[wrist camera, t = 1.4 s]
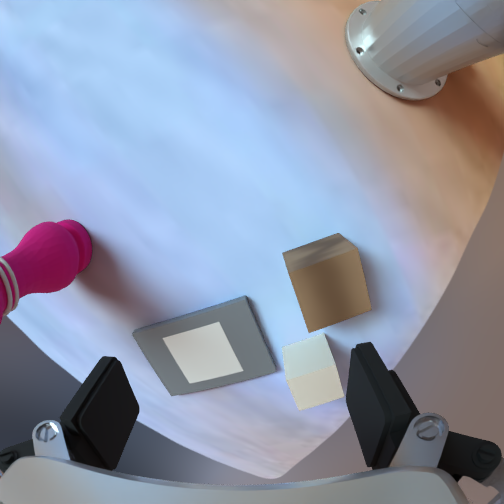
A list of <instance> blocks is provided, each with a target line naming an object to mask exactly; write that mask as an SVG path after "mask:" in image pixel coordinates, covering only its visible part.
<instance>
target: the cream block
mask: <svg viewBox="0 0 504 504" xmlns="http://www.w3.org/2000/svg"><path fill="white" fill-rule="evenodd" d="M282 353H283V360H284V368H285V376H286V381H287V384H288V386H289V388H290V391H291V393H292V395H293V398H294V400H295V402H296V404H297V407H298V409H299V411H301V410H304V409H308V408H311V407H315V406H318V405H321V404H324V403H327V402H330V401H333V400H336V399H339V398H342V397H344V393H343V390H342V386H341V382H340V379H339V375H338V371H337V368H336V364H335V361H334V359H333V356H332V353H331V351H330V348H329V345H328V343H327V340H326V338H325V335H324V333H322V334H319V335H316V336H313V337H310V338H308V339H305V340H302V341H299V342H296V343H292V344H289V345H286V346H283V347H282Z"/></svg>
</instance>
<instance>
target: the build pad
mask: <svg viewBox="0 0 504 504" xmlns="http://www.w3.org/2000/svg"><path fill="white" fill-rule="evenodd" d="M132 335H133V337H134V339H135V340H136V342H137V344H138V345H139V347H140V349H141V350H142V352H143V354H144V355H145V357H146V358H147V360H148V362H149V363H150V365H151V366H152V368H153V369H154V371H155V372H156V374H157V376H158V377H159V379H160V380H161V382H162V383H163V385H164V386H165V387H166V389H167V390H168V392H169V393H170V395H171V396H175V395H181V394H186V393H192V392H197V391H202V390H206V389H211V388H215V387H220V386H224V385H229V384H233V383H237V382H241V381H245V380H249V379H252V378H256V377H260V376H264V375H267V374H271V373H274V372H276V365H275V363H274V361H273V359H272V356H271V354H270V352H269V349H268V347H267V345H266V342H265V340H264V338H263V335H262V333H261V331H260V328H259V326H258V324H257V321H256V319H255V317H254V314H253V312H252V309H251V307H250V305H249V302H248V300H247V298H246V295H245V296H242V297H239V298H236V299H233V300H230V301H227V302H224V303H221V304H218V305H215V306H212V307H208V308H205V309H202V310H199V311H196V312H193V313H189V314H186V315H183V316H180V317H176V318H173V319H170V320H166V321H163V322H160V323H156V324H153V325H150V326H146V327H143V328H139V329H136V330H134V332H133V333H132Z"/></svg>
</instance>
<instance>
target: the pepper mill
mask: <svg viewBox="0 0 504 504" xmlns="http://www.w3.org/2000/svg"><path fill="white" fill-rule="evenodd" d="M91 256H92V244H91V240H90V237H89V235H88V233H87V231H86V230H85V228H84V227H83V226H82V225H81V224H79V223H78V222H76V221H74V220H63V221H60V222H57V223H54V222H43V223H41V224H39V225H36V226H35V227H33V228H32V229H31V230H30V231H28V232H27V233H26V234H25V236H24V237H23V239H22V240H21V242H20V243H19V245H18V246H17V247H16V248H15V249H14V250H13V251H11V252H10V253H8V254H6V255H4V256H2V257H0V324H1V320H2V317H3V316H6V315H8V314H9V313H10V311H13V310H14V309H15V308H16V307H17V305H18V302H19V299H20V298H21V297H23V296H25V295H27V294H31V293H51V292H55V291H59V290H61V289H63V288H65V287H67V286H68V285H69V284H71V282H72V281H73V280H74V278H75V276H76V274H78V273H79V272H81V271H82V270H84V269H85V268H86V267H87V266H88V264H89V263H90V260H91Z"/></svg>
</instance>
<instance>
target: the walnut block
mask: <svg viewBox="0 0 504 504" xmlns="http://www.w3.org/2000/svg"><path fill="white" fill-rule="evenodd" d="M282 254H283V257H284V260H285V264H286V267H287V270H288V273H289V276H290V279H291V282H292V285H293V288H294V291H295V294H296V296H297V299H298V302H299V305H300V308H301V311H302V314H303V317H304V320H305V323H306V326H307V329H308V332H309V333H310V332H313V331H316V330H319V329H322V328H325V327H327V326H330V325H333V324H336V323H338V322H341V321H344V320H346V319H349V318H352V317H354V316H357V315H359V314H362V313H364V312H367V311H369V310H372V309H371V304H370V299H369V295H368V290H367V285H366V281H365V277H364V272H363V268H362V264H361V260H360V256H359V252H358V248H357V247H355V246H354V245H353V244H352V243H351V242H349V241H348V240H347V239H346V238H344V237H343V236H342V235H341V234H339V233H337V234H334V235H331V236H328V237H326V238H323V239H320V240H317V241H314V242H312V243H309V244H306V245H303V246H300V247H298V248H295V249H292V250H289V251H286V252H283V253H282Z"/></svg>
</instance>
